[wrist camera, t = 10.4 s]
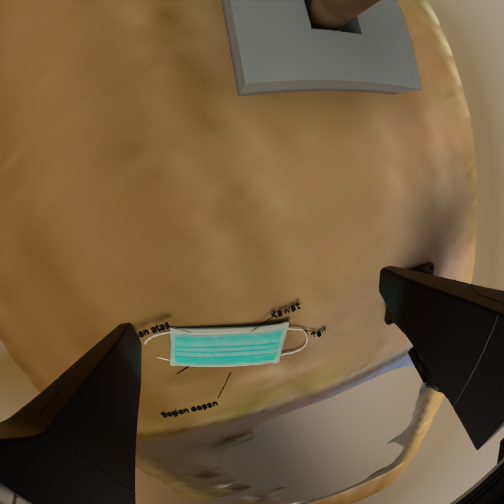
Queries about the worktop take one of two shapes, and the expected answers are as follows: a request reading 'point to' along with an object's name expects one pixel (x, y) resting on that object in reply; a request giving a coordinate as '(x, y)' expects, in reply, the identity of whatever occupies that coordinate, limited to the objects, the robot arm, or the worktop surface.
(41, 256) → the worktop surface
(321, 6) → the dowel
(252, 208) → the worktop surface
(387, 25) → the hole block
